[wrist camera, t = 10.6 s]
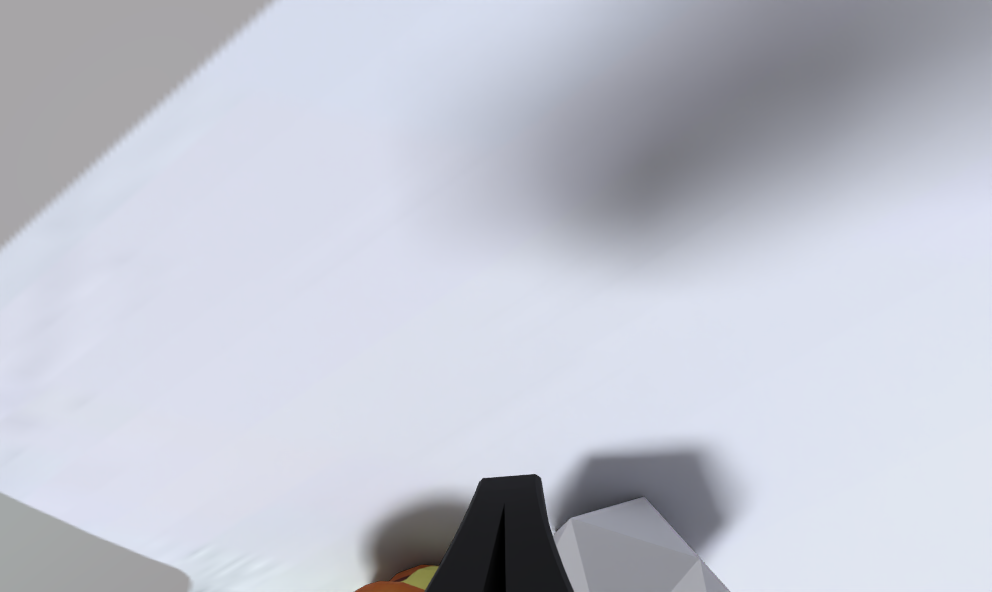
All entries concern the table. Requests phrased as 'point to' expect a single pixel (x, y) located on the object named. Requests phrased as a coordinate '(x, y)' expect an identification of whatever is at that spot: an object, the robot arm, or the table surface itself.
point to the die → (630, 553)
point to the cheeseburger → (404, 581)
